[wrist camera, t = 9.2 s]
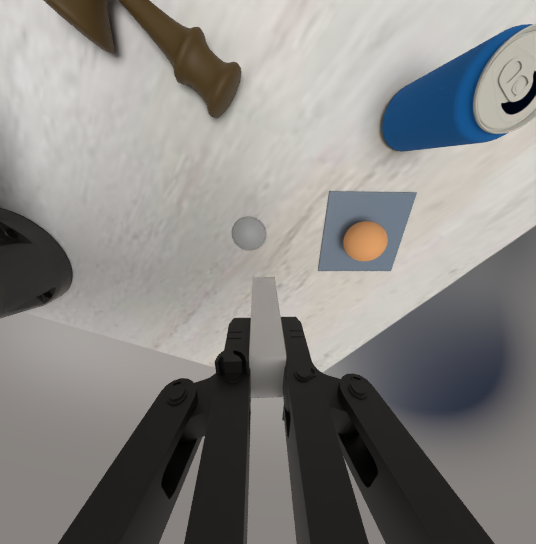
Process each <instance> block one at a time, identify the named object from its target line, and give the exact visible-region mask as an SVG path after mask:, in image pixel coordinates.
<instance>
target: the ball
mask: <svg viewBox="0 0 536 544" xmlns="http://www.w3.org/2000/svg"><path fill="white" fill-rule="evenodd" d="M387 242H388V238H387V234H386V231H385V230H384V228H383V227H382V226H380V225H379V224H377V223H375V222H371V221H362V222H359V223H356V224H354V225H353V226H351V227H350V228H349V229H348V231H347V232H346V234H345V236H344V241H343V245H344V249H345V251H346V253H347V254H348V255H349V256H350V257H351V258H353V259H355V260H358V261H371V260H374V259H376V258H377V257H379V256H380V255H381V254H382V253H383V252H384V250H385V249H386V246H387Z"/></svg>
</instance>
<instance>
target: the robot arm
mask: <svg viewBox="0 0 536 544" xmlns="http://www.w3.org/2000/svg"><path fill="white" fill-rule="evenodd" d="M71 280H72V271H71V267H70V263H69V261H68V259H67V257H66V255H65V253H64V252H63V250H62V249H61V247H60V246H59V245H58V244H57V242H56V241H55V240H54V239H53V238H52V237H51V236H50V235H49V234H48V233H46V232H45V231H44V230H43V229H41V228H40V227H39V226H37V225H36V224H34V223H33V222H31V221H30V220H28V219H26V218H24V217H22V216H20V215H18V214H15V213H13V212H10V211H7V210H4V209H0V318H3V317H6V316H9V315H13V314H16V313H19V312H23V311H26V310H30V309H33V308H36V307H40V306H43V305H45V304H47V303H49V302H51V301H53V300H54V299H56V298H58V297H59V296H61V295H62V294H64V293H65V292H66V291H67V289H68V288H69V286H70V284H71ZM215 367H216V374H214V375H213V376H211V377H210V378H208V379H205V380H202V381H199V382H196V383H193V381H191V380H189V379H184V378H181V379H178V380H174V381H172V382H171V383H169V384H168V385H166V386H165V388H164V389H163V390H162V391H161V392H160V394H159V395H158V397H157V398H156V400H155V401H154V403H153V404H152V406H151V407H150V409H149V410H148V412H147V413H146V414H145V416H144V418H143V419H142V420H141V422H140V423H139V425H138V426H137V428H136V429H135V431H134V432H133V434H132V435H131V437H130V438H129V440H128V441H127V442H126V444H125V445H124V447H123V448H122V450H121V451H120V453H119V454H118V456H117V458H116V459H115V460H114V462H113V463H112V465H111V466H110V468H109V469H108V471H107V472H106V473H105V475H104V477H103V478H102V479H101V481H100V482H99V484H98V485H97V487H96V488H95V490H94V491H93V493H92V494H91V496H90V497H89V499H88V500H87V501H86V503H85V505H84V506H83V507H82V509H81V510H80V512H79V513H78V515H77V516H76V518H75V519H74V521H73V522H72V524H71V525H70V527H69V528H68V530H67V531H66V533H65V534H64V535H63V537H62V539H61V540H60V541H59V543H58V544H159V542H160V539H161V537H162V534H163V532H164V529H165V527H166V524H167V522H168V520H169V517H170V514H171V512H172V510H173V507H174V505H175V502H176V500H177V498H178V495H179V493H180V490H181V488H182V486H183V483H184V481H185V478H186V476H187V473H188V471H189V468H190V466H191V463H192V461H193V459H194V456H195V454H196V451H197V449H198V446H199V444H200V441H201V439H202V437H203V436H205V439H204V444H203V450H202V454H201V460H200V465H199V470H198V475H197V480H196V485H195V491H194V496H193V501H192V506H191V511H190V517H189V522H188V527H187V532H186V537H185V542H184V544H247V523H248V522H247V521H248V520H247V519H248V487H249V448H250V414H251V411H250V402H251V398H267V397H282V396H283V397H284V408H283V409H284V410H283V420H284V422H285V431H286V442H287V452H288V461H289V472H290V480H291V491H292V501H293V511H294V520H295V531H296V541H297V544H369V543H368V540H367V537H366V533H365V530H364V526H363V523H362V519H361V516H360V513H359V509H358V506H357V502H356V499H355V495H354V492H353V488H352V485H351V481H350V478H349V475H348V471H347V468H346V464H345V461H344V458H345V460H346V462H347V464H348V467H349V469H350V471H351V473H352V475H353V477H354V479H355V481H356V483H357V485H358V487H359V489H360V491H361V493H362V495H363V498H364V500H365V502H366V504H367V506H368V508H369V510H370V512H371V514H372V516H373V518H374V520H375V522H376V524H377V526H378V528H379V530H380V533H381V535H382V537H383V539H384V541H385V543H386V544H494V542H493V541H492V540H491V538H490V537H489V536H488V535H487V533H486V532H485V531H484V529H483V528H482V527H481V526H480V524H479V523H478V522H477V520H476V519H475V518H474V517H473V515H472V514H471V513H470V511H469V510H468V509H467V507H466V506H465V505H464V504H463V502H462V501H461V500H460V498H459V497H458V496H457V494H456V493H455V492H454V491H453V489H452V488H451V487H450V485H449V484H448V483H447V482H446V480H445V479H444V478H443V476H442V475H441V474H440V472H439V471H438V470H437V469H436V467H435V466H434V465H433V463H432V462H431V461H430V459H429V458H428V457H427V456H426V454H425V453H424V452H423V450H422V449H421V448H420V447H419V445H418V444H417V443H416V442H415V440H414V439H413V437H412V436H411V435H410V434H409V432H408V431H407V430H406V428H405V427H404V426H403V425H402V423H401V422H400V421H399V419H398V418H397V417H396V415H395V414H394V413H393V412H392V410H391V409H390V408H389V406H388V405H387V404H386V402H385V401H384V400H383V399H382V397H381V396H380V395H379V393H378V392H377V391H376V390H375V388H374V387H373V386H372V384H370V383H369V382H368V380H366V379H365V378H363V377H361V376H360V375H356V374H346V375H344V376H343V377H342V379H338V378H335V377H331V376H328V375H326V374H323V373H322V372H320V371H319V370H318V369H317V368H316V367H315V366H314V365H313V363H312V360H311V357H310V353H309V350H308V346H307V343H306V339H305V335H304V332H303V328H302V324H301V322H300V321H299V320H298V319H297V318H296V317H280V310H279V303H278V297H277V290H276V283H275V277H253V284H252V305H251V318H234V319H233V320H232V321H231V322H230V324H229V327H228V333H227V339H226V344H225V349H224V351H223V352H221V353H220V354H219V355H218V356H217V358H216V360H215ZM343 456H344V457H343Z"/></svg>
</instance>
